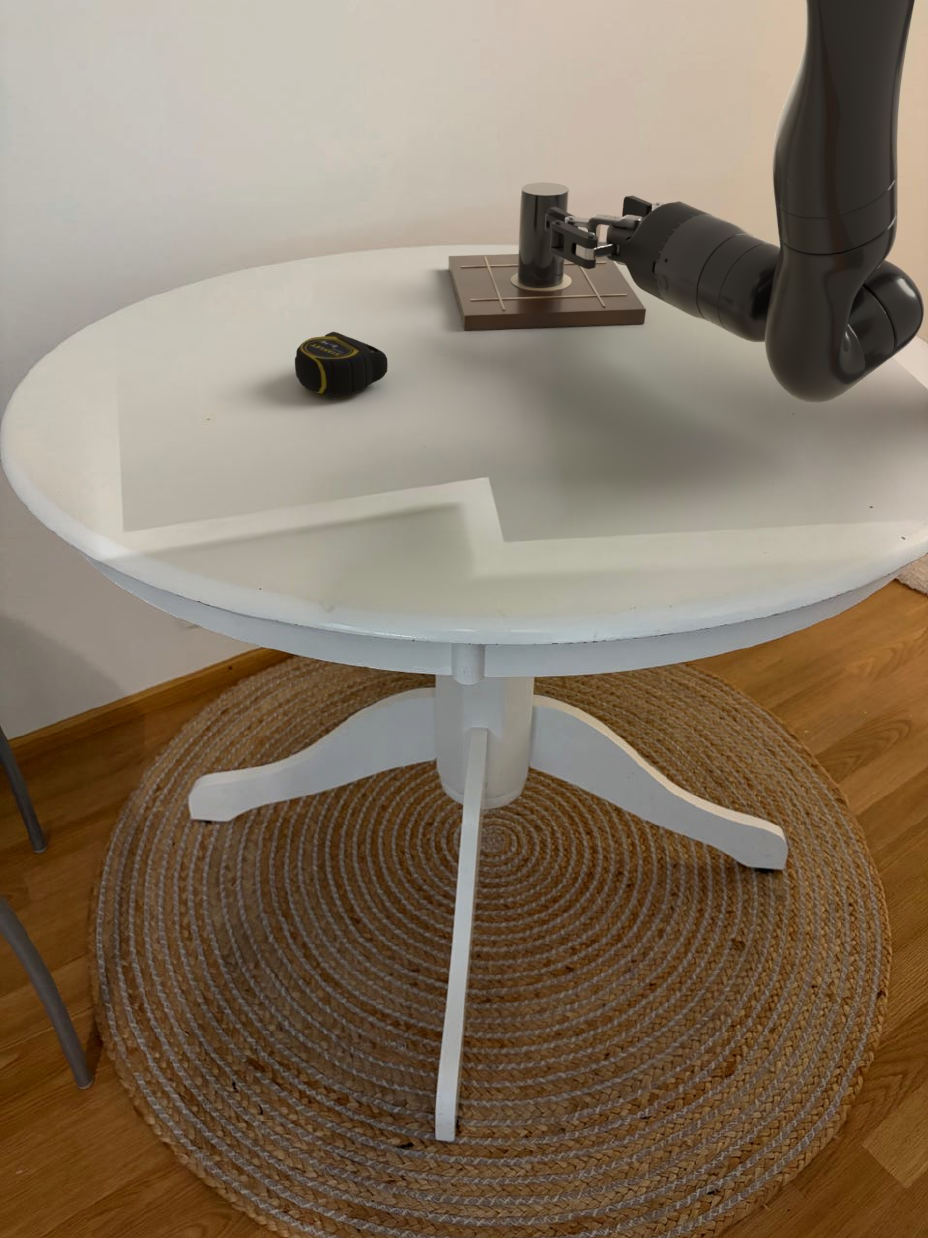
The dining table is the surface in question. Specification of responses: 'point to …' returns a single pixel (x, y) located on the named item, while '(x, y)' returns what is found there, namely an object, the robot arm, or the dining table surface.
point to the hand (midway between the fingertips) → (588, 212)
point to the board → (540, 295)
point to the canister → (539, 235)
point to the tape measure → (338, 364)
